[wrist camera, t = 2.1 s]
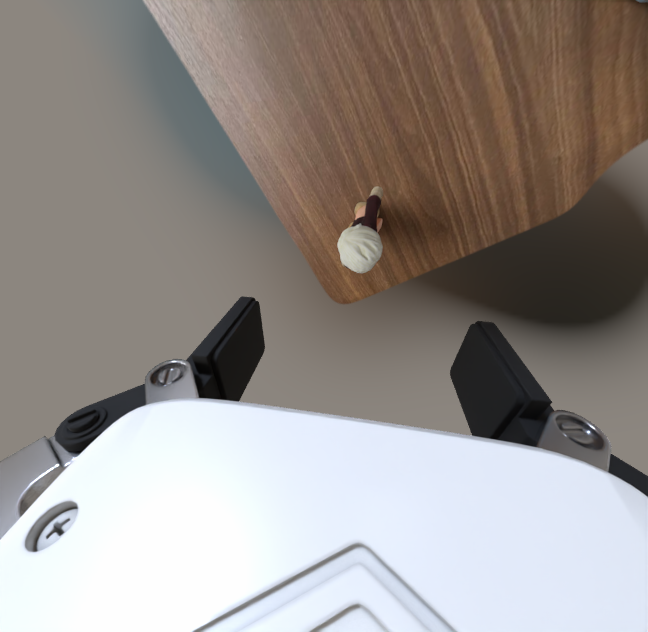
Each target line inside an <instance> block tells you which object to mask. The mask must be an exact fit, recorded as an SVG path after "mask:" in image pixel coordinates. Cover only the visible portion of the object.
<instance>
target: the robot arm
mask: <svg viewBox="0 0 648 632" xmlns="http://www.w3.org/2000/svg"><path fill="white" fill-rule="evenodd" d="M264 349H265V344H264V336H263V329H262V321H261V313H260V306H259V302H258V301H255V298H252V297H240V298H239V300H238V301H237V302H236V303H235V304H234V306H233V307H232V308H231V309H230V310H229V311H228V312H227V314H226V315H225V316H224V317H223V318H222V319H221V321H220V322H219V323H218V324H217V325H216V326H215V327H214V329H213V330H212V331H211V332H210V333H209V334H208V336H207V337H206V338H205V339H204V340H203V341H202V343H201V344H200V345H199V346H198V347H197V348H196V350H195V351H194V352H193V353H192V354H191V355H190V356H189V358H188V359H187V360H182V359H173V360H169V361H165V362H163V363H160V364H159V365H157V366H155V367H154V368H153V369H152V370H151V371H149V373H148V374H147V376H146V379H145V384H143V385H141V386H138V387H135V388H133V389H130V390H128V391H125V392H122V393H120V394H117V395H115V396H112V397H109V398H107V399H104V400H102V401H99V402H97V403H94V404H92V405H89V406H86V407H84V408H82V409H80V410H78V411H76V412H74V413H73V414H71V415H70V416H69V417H67V418H66V419H65V420H64V421H63V422H62V423H61V424H60V426H59V427H58V428H57V430H56V433H55V435H54V436H53V437H51V438H49V439H48V438H47V437H46V436H44V437H42V438H41V439H39V440H37V441H35V442H34V443H32V444H30V445H28V446H27V447H25V448H23V449H21V450H20V451H18V452H16V453H14V454H12V455H11V456H9V457H7V458H6V459H4V460H2V461H0V632H648V476H647V475H645V474H643V473H642V472H640V471H638V470H637V469H635V468H634V467H632V466H630V465H629V464H627V463H625V462H624V461H622V460H620V459H619V458H617V457H616V456H614V455H612V454H611V444H610V442H609V440H608V439H607V436H606V435H605V434H604V433H603V432H602V431H601V430H600V429H599V428H598V427H597V426H595V425H594V424H592V423H591V422H590V421H588V420H586V419H585V418H583V417H581V416H579V415H577V414H575V413H572V412H568V411H564V410H556V411H554V410H553V408H552V407H551V406H550V404H551V403H552V401H551V400H550V399H549V397H548V396H547V394H546V393H545V392H544V390H543V389H542V388H541V386H540V385H539V384H538V382H537V381H536V380H535V378H534V377H533V375H532V374H531V373H530V371H529V370H528V369H527V367H526V366H525V364H524V363H523V362H522V360H521V359H520V358H519V356H518V355H517V354H516V352H515V351H514V350H513V348H512V347H511V345H510V344H509V343H508V341H507V340H506V339H505V338H504V336H503V335H502V333H501V332H500V330H499V329H498V328H497V326H496V325H495V324H494V323H492V322H482V321H477V322H476V323H475V324H472V325H471V326H470V327H469V329H468V332H467V334H466V336H465V339H464V341H463V343H462V345H461V347H460V349H459V352H458V354H457V356H456V358H455V361H454V363H453V365H452V367H451V370H450V376H451V379H452V382H453V384H454V387H455V390H456V393H457V395H458V398H459V401H460V403H461V406H462V409H463V412H464V414H465V417H466V420H467V422H468V425H469V428H470V430H471V433H472V436H470V435H464V434H458V433H450V432H445V431H438V430H431V429H425V428H418V427H412V426H404V425H399V424H391V423H385V422H378V421H372V420H365V419H358V418H352V417H345V416H338V415H331V414H324V413H317V412H310V411H303V410H296V409H289V408H282V407H275V406H268V405H261V404H253V403H245V402H239V400H240V398H241V396H242V394H243V392H244V390H245V388H246V386H247V384H248V382H249V381H250V379H251V377H252V374H253V373H254V371H255V369H256V367H257V365H258V363H259V361H260V359H261V357H262V355H263V353H264Z"/></svg>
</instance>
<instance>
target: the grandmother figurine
mask: <svg viewBox="0 0 648 632" xmlns="http://www.w3.org/2000/svg"><path fill="white" fill-rule="evenodd" d="M382 196H383V189H382V188H381V187H379V186H378V187H375V188H373V189H372V191H371V195H370V196H369V198H368V199H367V202H359V203H358V204H357V205H356V207H355V210H354V213H355V215H356V218H355V221H354V222H352V223H351V224H350V225H349V227H348V228H347V229H346V230H344V231H343V232H342V234H341V237H340V238H339V241H338V250H339V253H340V259H341V263H342V265H343V266H344V267H346V268H349V269H351V270H352V271H355V272H357V273H365V272H367V271H369V270H371V269H372V267H373V266H374V265H375V263H376V262H377V261H378V260H379V258H380V256H381V254H382V248H383V247H382V244H381V240H380V236H379V234H378V231H379V230H380V228H381V226H382V219H381V218H378V216H379V207H380V205H381V198H382ZM377 218H378V219H377Z"/></svg>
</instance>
